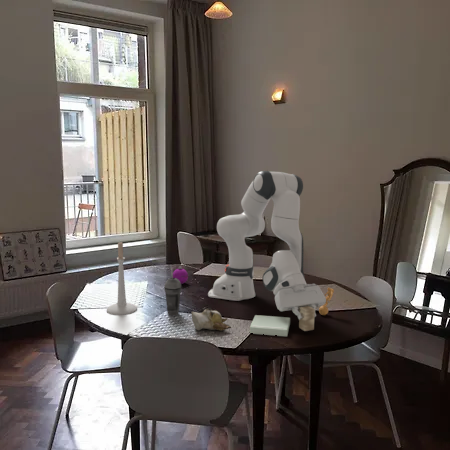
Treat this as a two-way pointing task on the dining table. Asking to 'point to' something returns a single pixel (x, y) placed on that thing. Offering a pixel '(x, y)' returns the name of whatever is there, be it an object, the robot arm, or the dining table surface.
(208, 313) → the ceramic sculpture
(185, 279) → the christmas ornament
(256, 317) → the sage board
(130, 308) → the candlestick
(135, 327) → the dining table surface
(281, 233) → the robot arm
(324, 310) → the figurine
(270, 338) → the dining table surface
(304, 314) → the tan block
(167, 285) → the beverage cup
